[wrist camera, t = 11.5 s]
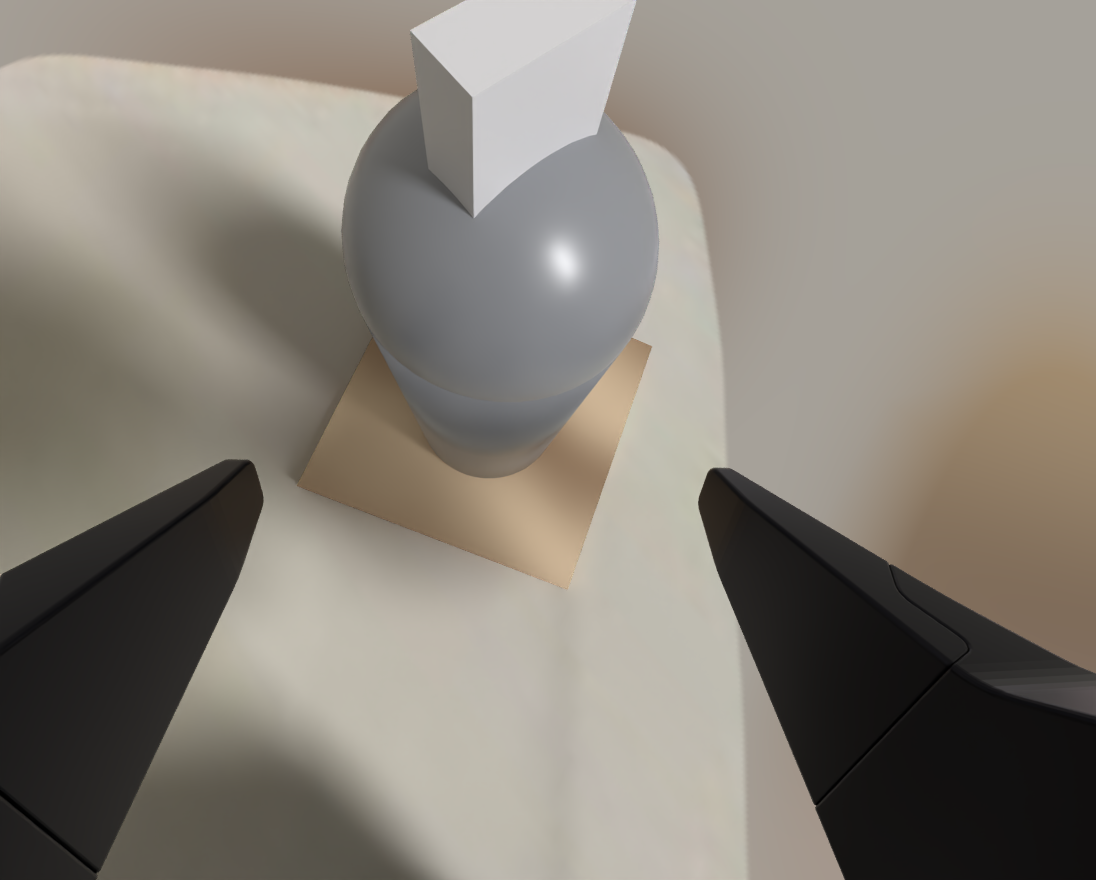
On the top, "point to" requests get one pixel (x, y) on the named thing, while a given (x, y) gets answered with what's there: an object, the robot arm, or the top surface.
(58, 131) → the top surface
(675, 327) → the top surface
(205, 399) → the top surface
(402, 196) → the grey bottle
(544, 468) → the cork mat
